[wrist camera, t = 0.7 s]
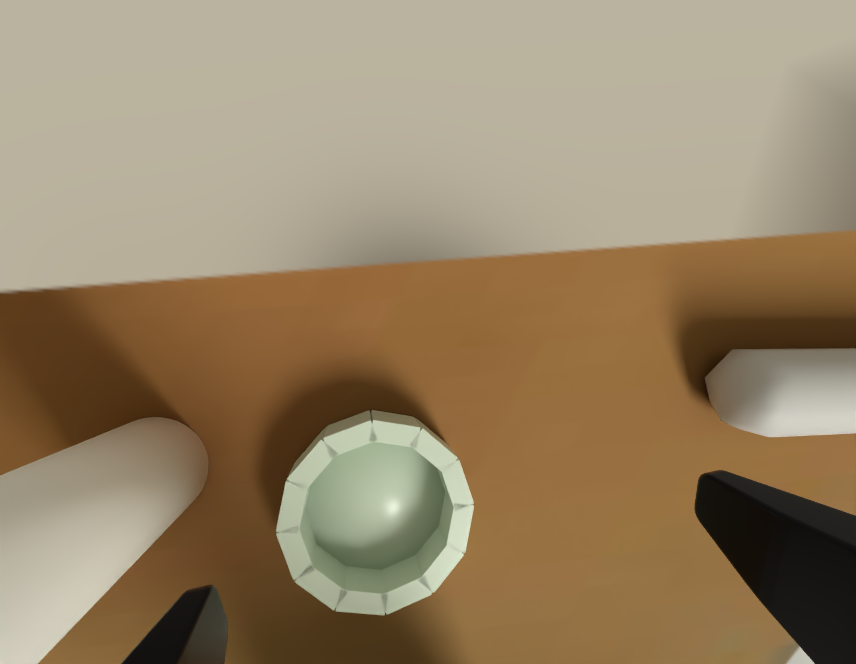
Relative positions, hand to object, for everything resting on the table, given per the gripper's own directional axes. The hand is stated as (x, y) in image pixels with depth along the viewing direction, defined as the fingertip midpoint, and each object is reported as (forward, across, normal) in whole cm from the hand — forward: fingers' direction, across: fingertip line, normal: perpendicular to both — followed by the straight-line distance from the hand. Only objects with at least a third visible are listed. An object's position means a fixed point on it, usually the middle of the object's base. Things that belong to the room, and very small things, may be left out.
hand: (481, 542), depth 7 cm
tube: (+14, -30, +8) cm, 34 cm away
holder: (+13, +2, +9) cm, 16 cm away
